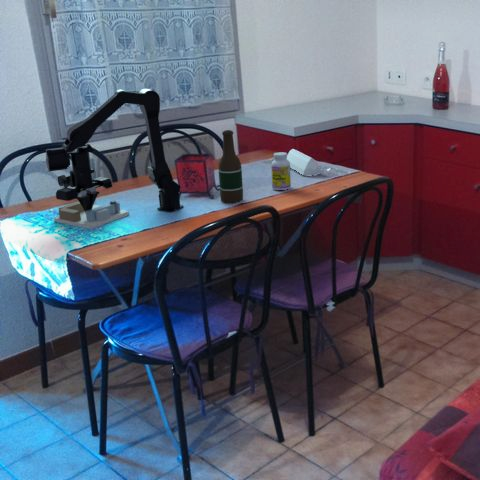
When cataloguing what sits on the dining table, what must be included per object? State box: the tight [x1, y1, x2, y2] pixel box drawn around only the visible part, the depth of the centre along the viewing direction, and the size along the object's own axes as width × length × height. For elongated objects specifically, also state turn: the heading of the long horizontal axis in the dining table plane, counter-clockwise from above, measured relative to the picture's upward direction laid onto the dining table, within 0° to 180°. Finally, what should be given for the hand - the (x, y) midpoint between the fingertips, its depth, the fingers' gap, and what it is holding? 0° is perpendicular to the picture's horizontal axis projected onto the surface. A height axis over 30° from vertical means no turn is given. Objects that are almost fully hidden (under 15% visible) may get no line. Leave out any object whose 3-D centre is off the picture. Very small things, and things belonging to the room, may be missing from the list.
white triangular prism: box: [287, 148, 322, 176], centre depth 270 cm, size 7×7×24 cm
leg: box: [86, 200, 121, 221], centre depth 221 cm, size 12×3×4 cm, turn 142°
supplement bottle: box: [270, 151, 292, 191], centre depth 244 cm, size 7×7×13 cm
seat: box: [53, 200, 130, 230], centre depth 224 cm, size 18×17×4 cm
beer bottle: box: [218, 129, 244, 204], centre depth 231 cm, size 8×8×24 cm
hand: (88, 214), depth 220 cm, fingers closed
